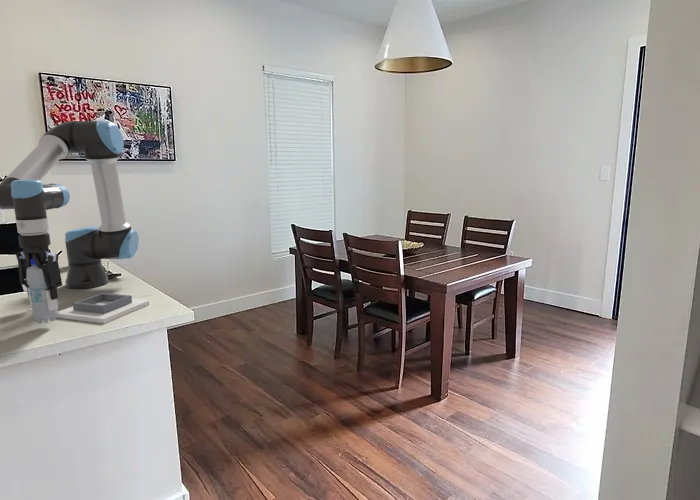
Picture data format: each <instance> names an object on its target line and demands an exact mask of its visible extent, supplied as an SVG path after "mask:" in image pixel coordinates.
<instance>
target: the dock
mask: <svg viewBox="0 0 700 500" xmlns="http://www.w3.org/2000/svg"><path fill="white" fill-rule="evenodd" d="M149 305H150V300H148V299H140V298H133V297H132V295H128V294H120V293H118V294H117V293H109V292H101V293H98V294H95V295H91V296H90V297H89V296H88V297H86V298H83V299H81V300H77V301H75V302H72V306H70V307H67V308H65V309H62V310H57V311H58V316H57V318H58V319H64V320H65V319H66V320H74V321H82V322H91V323H97V324H98V323H99V324H107V323H109V322H111V321H113V320H116V319H119V318H121V317H123V316H125V315H128V314H130V313H132V312H135V311H137V310H140V309H142V308H144V307H146V306H149ZM57 318H56V319H57Z"/></svg>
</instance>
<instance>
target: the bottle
mask: <svg viewBox="0 0 700 500" xmlns="http://www.w3.org/2000/svg"><path fill="white" fill-rule="evenodd" d="M31 265H32V266H30V267H29V268H27V278H26V280H27V282H28V283H27V284H28V285H29V288H30V295H31V301H32V311H31V312H32V319H33V320H34V321H35V323H38V324H42V323H43V321H44V323H45V324H46V323H48V322H49V321H50V322H53V321H55V320H56V319H57V316H58V311H59V310H58V309H55V310H52V311H48V304H47V297H46V290H45V289H47V286H46V283H45V279H44V275H43V271H42V269H41V268H38V267H37V265H36V262H35V260H34V259H33V258H31ZM42 265H44V264H42ZM51 285H52V284H51Z"/></svg>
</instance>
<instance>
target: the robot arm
mask: <svg viewBox="0 0 700 500" xmlns="http://www.w3.org/2000/svg"><path fill="white" fill-rule="evenodd" d="M124 146H125V142H124V137H123V134H122V132H121V130H120V128H119V127H118V126H117V125H116V124H115V122H112V121H106V120H105V121H103V120H91V121H90V120H80V121H79V120H78V121H77V120H70V121H65V122H63V123H62V122H61V123H60V124H58V125H56V126H54V127H52V128H50V129H49V130H48V131H47V132H45V133H44V134H43V135H42V136H40V138H39V140H38V145H36V146H35V148H34V149H33V150H32V151H30V153H29V154H28V155H27V156H26V157H24V159H23V160H22V161H21V162H20V163H19V164H18V165H17V166H16V167H15V168H14V169H13V170H12V171H11V172H10V173H9V174H8V175H7V176H6V177H5V178H4V179H3V180H2V181H1V182H0V210H14V215H15V221H16V228H17V233H18V234H19V235H18V237H17V239H18V244H19V245H18V246H19V247H20V248H21V249H23V250H22V251H19V252H16V253H15V257H16V259H17V267H18V277H19V283H20V285H21V286H22V285H25V287H27V292H26V293H27V296H28V298H29V299H28V300H29V305H30V308H31V309H32V301H31V295H30V288H29V285H28V284H27V283H28V282H27V280H26V278H27V268H29V267H30V266H32V265H31V258H33V259H34V260H35V262H36V265H37V267H38V268H41V269H42V271H43V275H44V279H45V283H46V286H47V289H45V290H46V297H47V304H48V311H52V310H55V309H57V310H58V309H59V303H58V302H59V301H58V298H59V296H58V288H59V287H62V286H63V281H62V275H61V271H60V270H61V269H60V265H59V254H58V253H55V254H54V253H51V251H50V249H49V246H50V245H51V243H52V242H51V237H50V233H49V231H50V228H49V221H48V216H47V210H54V209H60V208H62V207H65V206H66V205H67V204H68V203H69V202H70V199H71V195H70V194H71V193H70V192H69V189H68V188H67V187H65V186H64V185H62V184H60V183H48V184H46V183H45V184H43V181H42V180H43V179H44V177H46V175H47V174H48V173H49V172H50V171H51V169H52V168H53V167H54V166H55V165H56V164H57V163H58V162H59V160H63V159H65V158H66V157H67V156H68V155H71V154H84V159H85V160H86V161H88V162H89V164H90V166H91V171H92V172H91V173H92V179H93V183H94V189H95V194H96V199H97V204H98V209H99V210H98V211H99V216H100V221H101V225H99V226H87V227H82V228H76V229H71V230H68V231H66V233H65V234H64V235H65V237H64V238H65V239H64V241H65V242H64V244H65V250H66V257H67V263H68V268H67V273H66V274H67V275H66V279H65V283H64V284H65V287H66V288H67V289H70V290H71V289H74V290H77V289H80V290H81V289H90V288H91V289H92V288H95V287H100V286H103V285H105V284H108V283H109V278H108V275H107V274H106V271H105V268H104V267H103V264H102V260H127V259H132V258H134V256H135V255H136V254H137V252H138V248H139V242H140V241H139V240H140V239H139V238H140V237H139V234H138V232H137V230H134V229H132V225H131V224H130V223H129V222H127V220H126V215H125V208H124V202H123V197H122V192H121V191H122V190H121V183H120V178H119V173H118V172H119V171H118V166H117V161H118V160H119V159H120V154H121V153H123V151H124V148H125V147H124ZM42 264H44V265H42ZM24 279H25V280H24ZM51 284H52V285H51Z"/></svg>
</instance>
